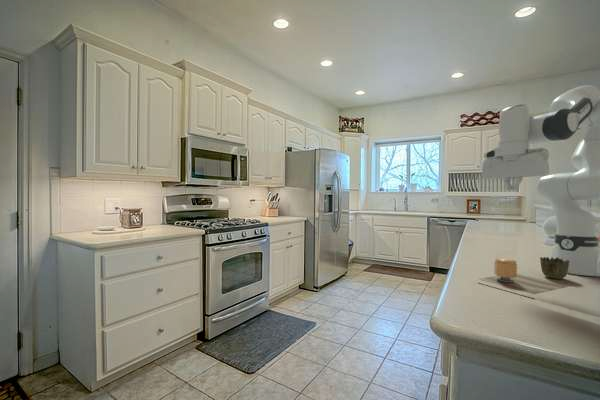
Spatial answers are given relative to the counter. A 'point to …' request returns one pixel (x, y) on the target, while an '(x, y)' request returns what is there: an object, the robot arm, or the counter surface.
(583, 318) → the counter surface
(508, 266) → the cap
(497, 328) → the counter surface
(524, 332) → the counter surface
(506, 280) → the stud
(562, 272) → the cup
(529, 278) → the board
